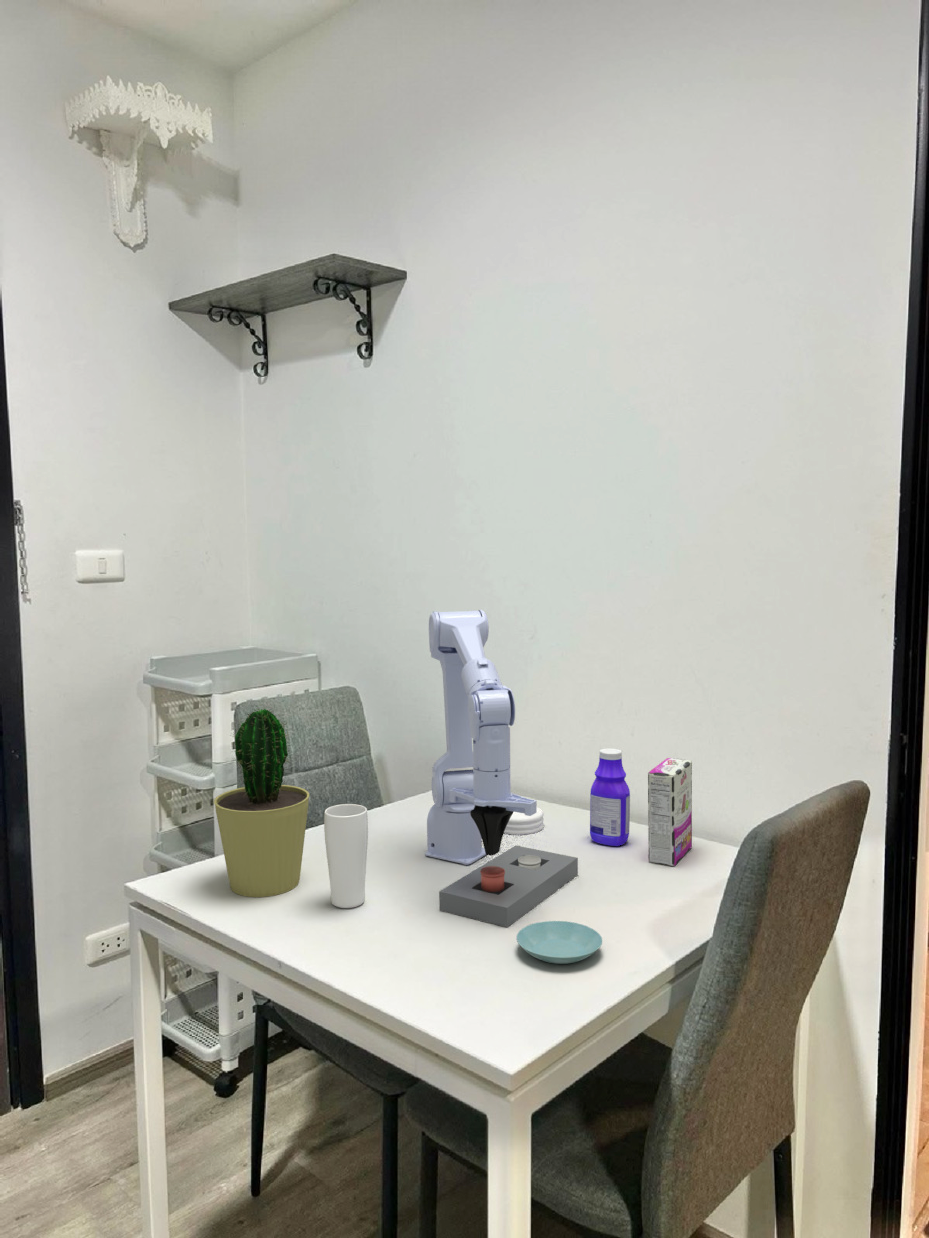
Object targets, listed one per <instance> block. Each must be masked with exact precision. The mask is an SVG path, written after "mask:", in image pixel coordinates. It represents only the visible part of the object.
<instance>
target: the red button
mask: <svg viewBox="0 0 929 1238" xmlns="http://www.w3.org/2000/svg"><path fill="white" fill-rule="evenodd" d="M480 874H481V888H482V890H484V891H488V892H498V891H501V890H503V889H504V874H505V870H504V869H503V868H501V867H497V866H488V867H484V868H482V869H481V870H480Z"/></svg>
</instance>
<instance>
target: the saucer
mask: <svg viewBox="0 0 929 1238" xmlns="http://www.w3.org/2000/svg"><path fill="white" fill-rule="evenodd" d="M516 942H517V943H518V945H519V946H520V947H521V949H523V950H524V951H525V952H526V953H528V954H529V955H530V956H532V957H533V958H536V959H537V960H540V961H543V962H546V963H549V964H554V965H556V964H557V965H568V964H573V963H578V962H581V961H583V960H586V959H587V958H588V957H591V956H592V955H593V954H594V953H595V952H597V951H598V950H599V948H600V947H601V946H602V945H603V938H602V936H601V934H600V933H599V932H598V931H597V930H596V929H594V928H591V927H590V926H588V925H584V924H582V923H577V922H572V921H566V920H565V921H563V920H549V921H548V920H547V921H540V922H539V921H538V922H534V923H532V924H528V925H526V926H525V927H523V928H521V929H520V930H519V931H518V932H517V934H516Z"/></svg>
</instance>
